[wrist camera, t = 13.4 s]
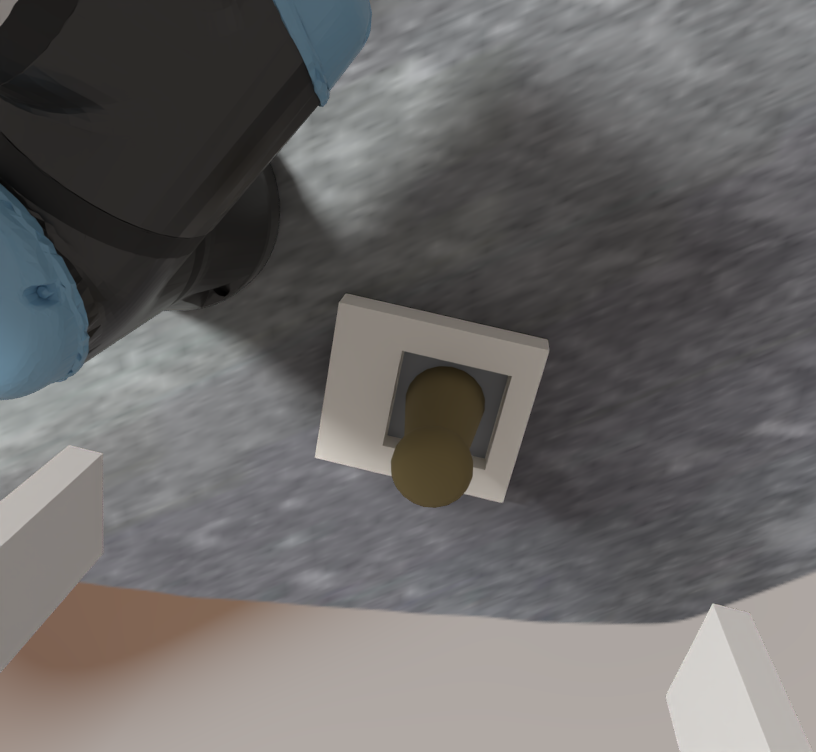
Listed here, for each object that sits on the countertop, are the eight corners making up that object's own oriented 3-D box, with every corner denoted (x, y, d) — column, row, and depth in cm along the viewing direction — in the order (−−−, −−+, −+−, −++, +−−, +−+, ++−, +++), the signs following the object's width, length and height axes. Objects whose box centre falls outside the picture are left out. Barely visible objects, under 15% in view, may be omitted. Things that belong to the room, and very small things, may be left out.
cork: (489, 434, 51) (484, 520, 41) (412, 441, 52) (389, 525, 42) (479, 362, 49) (472, 433, 39) (399, 370, 50) (371, 442, 40)
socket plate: (321, 443, 54) (314, 457, 52) (345, 293, 49) (338, 302, 47) (503, 487, 53) (502, 503, 51) (547, 339, 48) (549, 350, 46)
